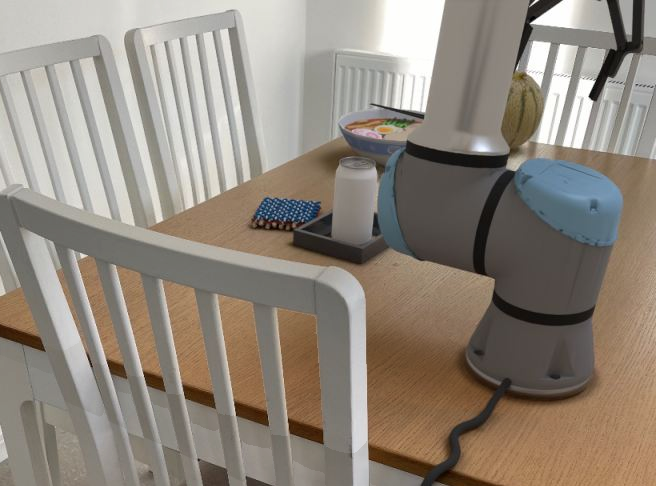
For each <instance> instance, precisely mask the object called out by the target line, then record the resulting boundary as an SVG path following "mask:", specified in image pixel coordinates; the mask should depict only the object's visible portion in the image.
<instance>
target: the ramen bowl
mask: <svg viewBox="0 0 656 486" xmlns="http://www.w3.org/2000/svg"><path fill="white" fill-rule="evenodd" d="M369 105H370V106H374V107H377V108H367V109H360V110H353V111H351V112H348V113H345V114H343V115H341V116H340V118H339V119H338V120H337V125H338V128H339V130H340V132H341V135H342V137H343V138H344V139H345V142H347V144H348V145H349V147H350V148H351V150H352V151H353V152H354V153H355V154H357V156H358V157H364V158H369V159H371V160H373V161H375V162H376V165H375V166H378V167H382V168H385V165H386V163H387V161H388V160H389V158H390V157H391V155H392V154H393V153H395V152H396V151H397V150H399V149H402V148H405V147H406V142H407V136H408V134H409V133H411V132H412V131H413V130H414V129H415V128H417V127H418V126H419V125H420V124H421V123H422V122H423V120H424V116H425V111H420V110H416V109H403V108H395V107H391V106H386V105H381V104H376V103H373V102H371V103H369Z"/></svg>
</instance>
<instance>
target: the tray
mask: <svg viewBox="0 0 656 486" xmlns="http://www.w3.org/2000/svg"><path fill="white" fill-rule="evenodd" d="M332 218H333V208H331V209H330V210H328V211H326V212H324V213H323V214H321V215H318V216H317V218H315V219H313V220H311V221H309V222H307V223H306V224H304V225H302V226H299V227H297V228H294V229H293V237H292V245H293V246H297V247H300V248H304V249H307V250H311V251H314V252H318V253H321V254H325V255H327V256H331V257H336V258H339V259H341V260H346V261H349V262H353V263H357V264H360V265H362V264H364V263H365V262H367V261H369V260H371V259H373V257H375V256H376V255H379V254H380V253H381V252H383V251H385V250H386V249H387V248H390V247H389V246H388V245H387V243H386V242H385V240H384V237H383V236H382V234H381V231H380V227H379V223H378V215H377V211H374V217H373V227H372V235H373V236H375V237H373V238H371V240H370V241H369V242H367V243H365V244H364V245H362V246H358V245H354V244H351V243H347V242H344V241H340V240H336V239H333V238H332V237H329V235H332Z"/></svg>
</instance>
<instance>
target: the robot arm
mask: <svg viewBox="0 0 656 486" xmlns="http://www.w3.org/2000/svg"><path fill="white" fill-rule="evenodd" d="M563 1H564V0H537V1H536V0H444V4H443V11H442V16H441V22H440V27H439V33H438V38H437V44H436V48H435V55H434V61H433V65H432V66H433V67H432V71H431V77H430V83H429V88H428V95H427V100H426V106H425V110H424V112H425V116H424V120H423V122H422V123H421V124H420V125H419V126H418V127H417V128H415V129H414V130H413V131H412V132H411V133H409V134H408V136H407V142H406V147H405V148H402V149H399V150H397V151H396V152H395V153H393V154H392V155H391V157H390V158H389V160H388V161H387V163H386V165H385V167H384V169H385V170H384V172H383V173H382V174H381V176H380V180H379V185H378V191H377V201H376V204H377V205H376V207H377V208H376V212H377V215H378V223H379V227H380V231H381V234H382V236H383V237H384V240H385V242H386V243H387V245H388V246H389V247H388V248H390V249H391V250H393V251H395V252H396V253H400V254H403V255H406V256H409V257H411V258H413V259H414V260H417V261H419V262H429V263H433V264H436V265H440V266H444V267H449V268H452V269H456V270H460V271H464V272H468V273H472V274H476V275H479V276H484V277H487V278H491V279H493V280H494V284H493V291H492V295H491V301H490V303H489V305H488V307H487V308H486V310H485V311H484V313H483V315H482V317H481V319H480V321H479V322H478V324H477V325H476V327H475V329H474V331H473V333H472V334H471V336H470V338H469V340H468V342H467V346H466V350H465V354H464V360H463V361H464V366H465V368H466V370H467V372H468V373H469V374H470V375H471V376H472V377H473V378H474V379H475V380H476V381H478V382H479V383H481V384H482V385H483V386H486V387H488V388H489V389H492V390H494V392H493V394H492V395H491V397H490V398H489V400H488V402H487V403H486V405H485V406H484V408H483V409H482V410H481V412H480V413H479V414H478V415H476V416H475V417H473V418H470V419H468V420H465V421H462V422H460V423H458V424H457V425H455V426H454V427H453V428H452V429H451V431H450V433H449V436H448V442H449V446H450V451H451V452H450V456H449V457H448V458H447V459H446V460H444V461H442V462H440V463H438V464H436V465H434V466H433V468H431V469H430V470H429V471H428V472H427V473H426V475H425V476H424V478H423V480H422V482H421V483H420V486H432V485H433V484H434V483H435V481H436V480H437V478H439V476H440V475H442V474H443V473H445V472H447V471H449V470H451V469H452V468H453V467H455V466H456V465H457V463H458V462H459V460H460V459H461V455H462V450H461V446H460V441H459V437H460V435H461V434H462V433H464V432H466V431H468V430H471V429H473V428H476V427H478V426H480V425H482V424H483V423H485V421H487V420H488V419H489V418H490V416H491V415H492V413H493V412H494V410H495V408H496V406H497V405H498V403H499V402H500V400H501V399H502V398H503V396H504V395H509V396H511V397H517V398H520V399H528V400H538V401H546V400H547V401H549V400H558V399H559V400H560V399H565V398H569V397H573V396H576V395H578V394H580V393H581V392H583V391H584V390H585V389H586V388H587V387H588V386H589V384H590V382H591V380H592V377H593V373H594V370H595V348H594V347H595V346H594V331H593V316H594V313H595V309H596V306H597V302H598V299H599V296H600V293H601V289H602V286H603V282H604V278H605V275H606V271H607V268H608V264H609V261H610V258H611V255H612V253H613V252H612V251H613V247H614V244H615V243H616V241H617V239H618V237H619V225H620V223H621V217H622V211H623V208H624V199H623V194H622V192H621V190H620V188H619V187H618V186H617V185H616V184H615V182H613V181H612V179H610V178H609V177H607V176H605V175H604V174H602V173H601V172H599V171H597V170H595V169H593V168H590V167H589V166H585V165H584V164H583V165H582V164H579V163H577V162H572V161H568V160H565V159H564V160H563V159H558V158H557V159H555V160H552V159H550V158H547V157H540V158H539V157H538V158H537V157H536V158H532V159H527V160H525V161H523V162H521V164H520V165H519V166H518V168H517V169H516V170H512V169H509V168H507V165H508V161H509V157H510V153H511V152H510V151H511V149H510V148H509V146H508V144H507V143H506V141H505V139H504V138H503V136H502V133H501V125H502V121H503V117H504V112H505V108H506V103H507V99H508V94H509V90H510V85H511V81H512V77H513V74H514V73H515V71H516V70H517V69H518V66H519V64H520V61H521V59H522V57H523V54H524V52H525V50H526V47H527V45H528V42H529V40H530V38H531V35H532V32H533V30H534V27H533V26H532V25H531V24H532V23H533V22H535V21H536V20H537V19H539V18H540V17H542V16H543V15H544V14H546V13H547V12H549V11H550V10H552V9H553V8H555V7H556V6H558V5H559V4H560V3H562V2H563ZM596 1H597V2H601V1H602V0H596ZM606 3H607V8H608V12H609V18H610V21H611V26H612V32H613V36H614V40H615V44H616V49H614V48H611V47H610V49H609V51H608V52H607V55H606V57H605V59H604V61H603V63H602V66H601V68H600V71H599V72H598V74H597V76H596V78H595V81H594V83H593V84H592V86H591V89H590V92H589V94H588V96H587V97H588V99H590V100H591V101H593V102H596V103H597V102H598V100H599V98H600V95H601V93H602V91H603V89H604V87H605V84H606V83H607V80H608V78H610V79H614V78H616V76H617V75H618V73H619V70H620V68H621V66H622V64H623V62H624V60H625V58H626V57H627V55H629V54H641V53H642V52H643V50H644V41H645V40H644V39H645V37H644V36H645V13H646V12H645V11H646V10H645V8H646V0H632V20H631V41H628V37H627V33H626V29H625V24H624V19H623V16H622V15H623V13H622V10H621V7H620V6H621V5H620V0H606Z"/></svg>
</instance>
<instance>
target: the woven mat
mask: <svg viewBox="0 0 656 486" xmlns="http://www.w3.org/2000/svg"><path fill="white" fill-rule="evenodd" d="M321 205H322V201H315V200H312V199H310V200H306V201H305V200H304V199H300V200H299V199H294V198H291V199H290V198H287V197H285V198H279V197H269V196H267V197H263V199H262V201H261V202H260V204H259V205H258V208H257V209H256V211H255V213H254V214H253V215H252V218H251V222H252V228H253V229H255V228H256V227H257V226H258V225H259V226H262V227H263V226H265V227H264V228H265V229H266V230H269V229H270V227H271V226H272V227H273V228H277V227H278V228H279V230H283V229H284V226H285V225H286V227H285V231H290V229H291V228H292V230H294V229H296V228H298V227H300V226H302V225H304V224H306V223H307V222H309V221H311V220H313V219H315V218H317V217H319V214H320V211H321V210H322V206H321Z"/></svg>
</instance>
